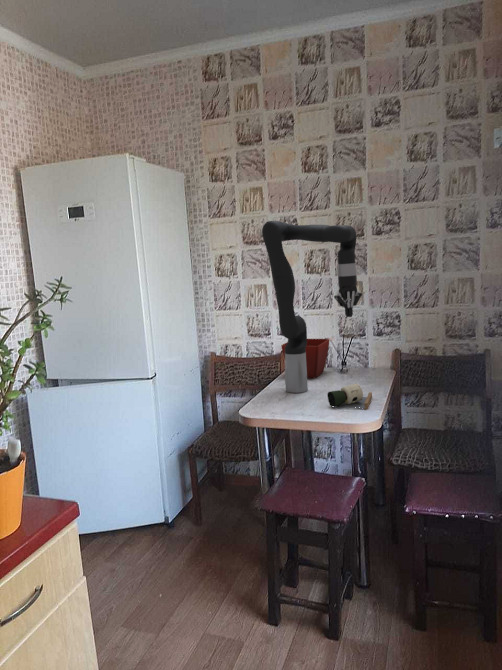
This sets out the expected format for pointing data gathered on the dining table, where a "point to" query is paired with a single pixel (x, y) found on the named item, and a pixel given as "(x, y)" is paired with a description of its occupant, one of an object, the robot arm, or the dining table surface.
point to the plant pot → (314, 356)
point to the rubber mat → (358, 403)
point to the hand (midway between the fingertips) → (349, 316)
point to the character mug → (345, 395)
